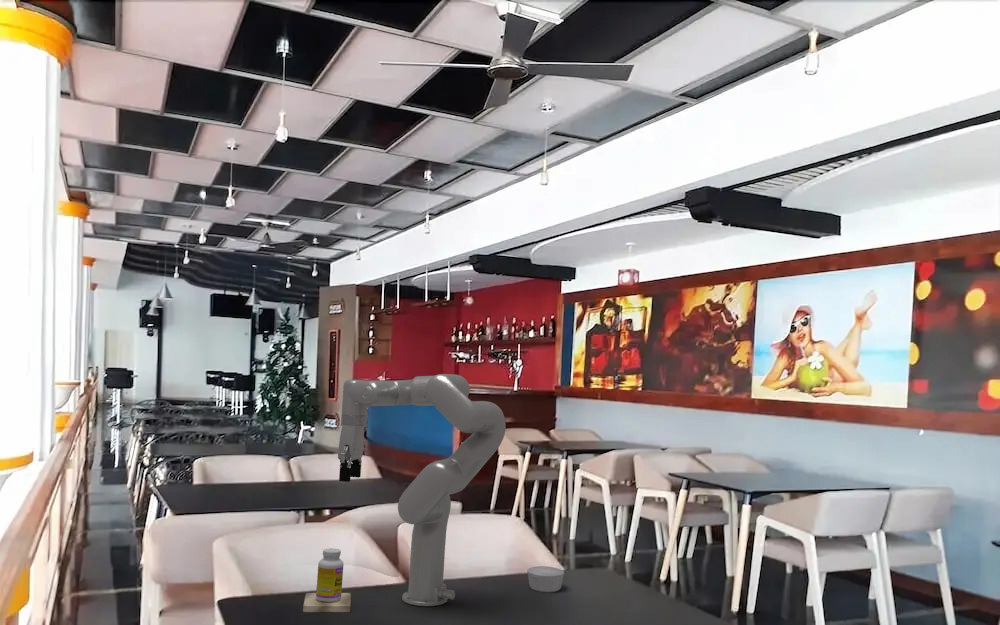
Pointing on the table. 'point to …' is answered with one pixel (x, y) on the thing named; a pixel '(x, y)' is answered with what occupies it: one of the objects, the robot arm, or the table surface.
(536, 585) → the ramekin
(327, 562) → the supplement bottle
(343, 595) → the birch board
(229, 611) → the table surface
